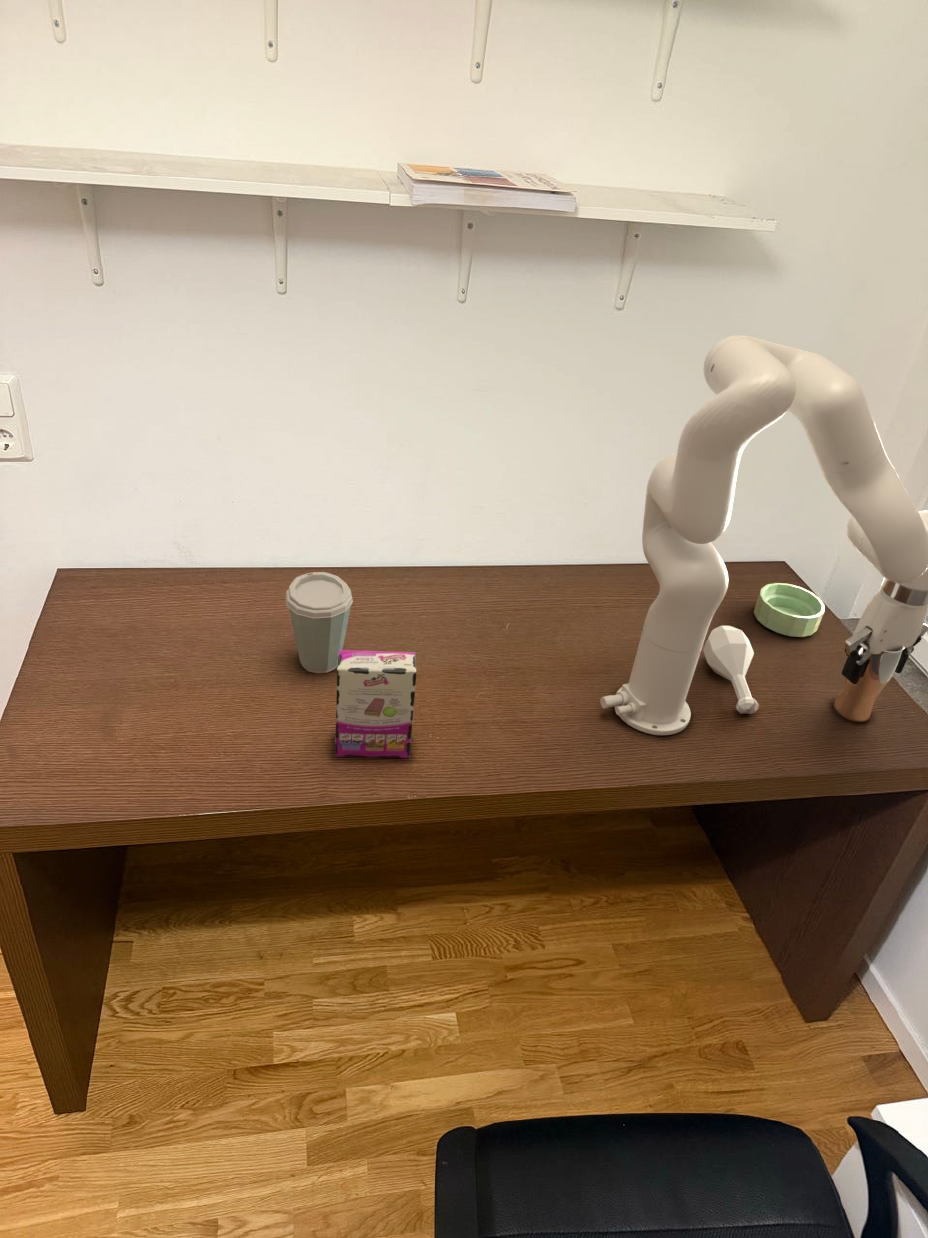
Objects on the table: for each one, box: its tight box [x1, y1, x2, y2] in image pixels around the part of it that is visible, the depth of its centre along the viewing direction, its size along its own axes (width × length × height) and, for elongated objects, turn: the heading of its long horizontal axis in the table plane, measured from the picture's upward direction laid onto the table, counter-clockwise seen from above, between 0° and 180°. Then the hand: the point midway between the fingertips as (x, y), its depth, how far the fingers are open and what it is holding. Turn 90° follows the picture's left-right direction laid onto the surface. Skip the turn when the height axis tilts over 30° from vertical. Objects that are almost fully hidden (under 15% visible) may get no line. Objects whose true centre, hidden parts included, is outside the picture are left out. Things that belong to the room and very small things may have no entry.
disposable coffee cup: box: [285, 571, 354, 675], centre depth 147 cm, size 11×11×15 cm
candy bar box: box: [334, 649, 417, 759], centre depth 132 cm, size 11×5×16 cm, turn 95°
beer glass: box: [833, 640, 904, 723], centre depth 153 cm, size 7×7×15 cm
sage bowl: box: [753, 582, 826, 638], centre depth 177 cm, size 12×12×5 cm
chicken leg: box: [702, 625, 760, 715], centre depth 157 cm, size 8×18×8 cm, turn 5°
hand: (871, 673), depth 152 cm, fingers open, 9 cm apart
